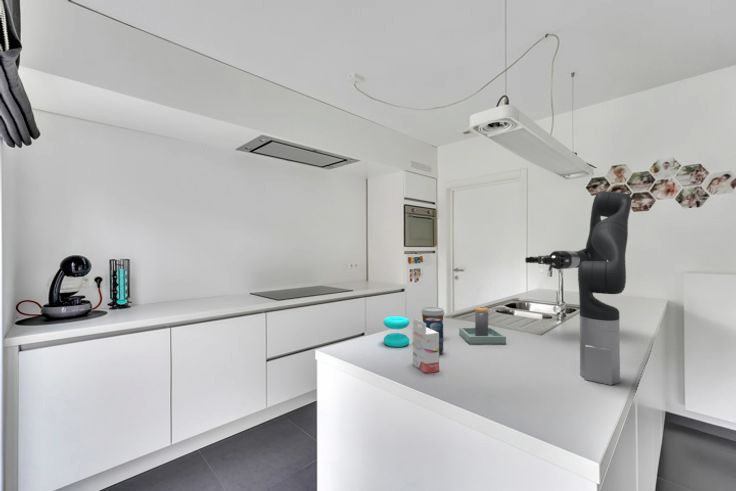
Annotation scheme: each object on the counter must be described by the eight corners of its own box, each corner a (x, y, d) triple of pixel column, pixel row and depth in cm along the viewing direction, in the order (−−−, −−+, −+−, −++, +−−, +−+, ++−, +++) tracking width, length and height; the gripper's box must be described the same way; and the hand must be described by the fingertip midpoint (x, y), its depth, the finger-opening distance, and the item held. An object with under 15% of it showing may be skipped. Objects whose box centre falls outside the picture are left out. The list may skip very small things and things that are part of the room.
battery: (485, 340, 125) (485, 307, 126) (473, 337, 129) (473, 305, 129) (490, 337, 129) (490, 306, 129) (478, 335, 132) (478, 304, 133)
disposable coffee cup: (417, 336, 134) (417, 307, 134) (437, 334, 137) (437, 306, 137) (427, 342, 125) (427, 312, 125) (449, 340, 128) (449, 310, 128)
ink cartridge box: (440, 371, 96) (440, 322, 96) (425, 373, 94) (425, 324, 94) (425, 361, 104) (425, 316, 104) (411, 363, 102) (411, 318, 102)
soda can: (442, 357, 108) (442, 321, 108) (421, 354, 111) (421, 320, 111) (444, 350, 115) (444, 317, 115) (425, 348, 117) (424, 316, 117)
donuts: (390, 314, 130) (413, 317, 125) (391, 339, 130) (413, 342, 125) (378, 319, 122) (402, 322, 116) (378, 345, 121) (402, 349, 116)
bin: (506, 344, 122) (506, 336, 122) (469, 344, 122) (469, 336, 122) (492, 334, 136) (492, 327, 136) (459, 334, 136) (459, 327, 136)
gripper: (549, 250, 140) (520, 251, 134) (580, 251, 126) (550, 251, 121) (549, 267, 139) (520, 268, 134) (580, 269, 126) (550, 271, 121)
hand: (534, 260), depth 127 cm, fingers open, 8 cm apart
